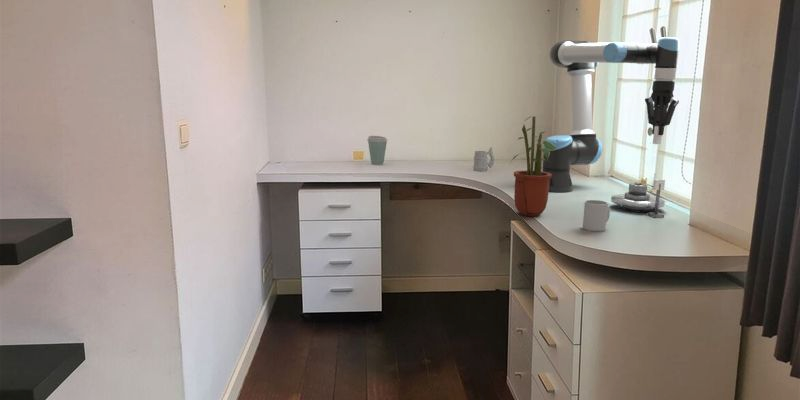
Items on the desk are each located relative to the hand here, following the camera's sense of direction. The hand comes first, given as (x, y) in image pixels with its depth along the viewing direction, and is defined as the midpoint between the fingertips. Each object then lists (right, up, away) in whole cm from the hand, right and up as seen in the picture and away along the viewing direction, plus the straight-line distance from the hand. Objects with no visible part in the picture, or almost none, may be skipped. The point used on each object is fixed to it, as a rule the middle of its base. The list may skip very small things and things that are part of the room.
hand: (656, 143), depth 232 cm
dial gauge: (-5, -27, -11) cm, 30 cm away
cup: (-33, -31, -32) cm, 55 cm away
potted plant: (-51, -26, -11) cm, 58 cm away
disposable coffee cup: (-110, -2, +101) cm, 149 cm away
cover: (-8, -21, 0) cm, 22 cm away
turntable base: (-7, -25, +1) cm, 26 cm away
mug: (-54, -6, +88) cm, 103 cm away
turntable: (-7, -22, 0) cm, 24 cm away
